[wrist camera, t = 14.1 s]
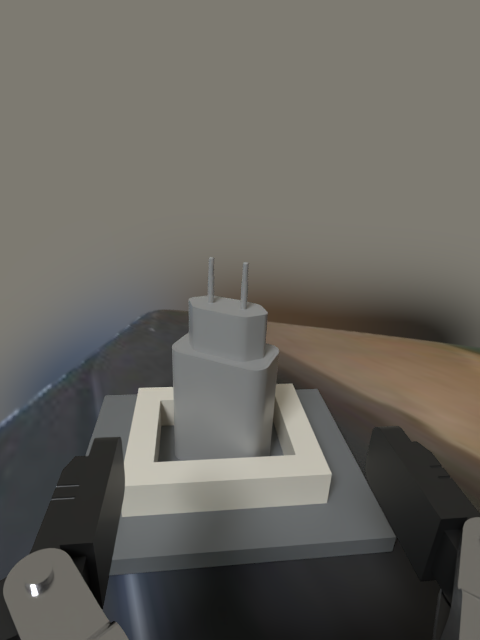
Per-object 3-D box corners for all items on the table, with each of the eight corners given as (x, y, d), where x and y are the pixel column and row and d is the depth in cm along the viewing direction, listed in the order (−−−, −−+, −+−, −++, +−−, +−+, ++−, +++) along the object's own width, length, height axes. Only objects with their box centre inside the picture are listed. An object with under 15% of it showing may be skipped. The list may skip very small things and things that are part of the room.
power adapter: (254, 486, 22) (270, 276, 17) (169, 456, 24) (163, 259, 19) (273, 450, 25) (290, 260, 20) (195, 426, 27) (194, 246, 22)
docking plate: (315, 399, 32) (320, 366, 31) (392, 551, 20) (404, 506, 19) (106, 406, 30) (102, 371, 29) (52, 580, 18) (42, 532, 17)
